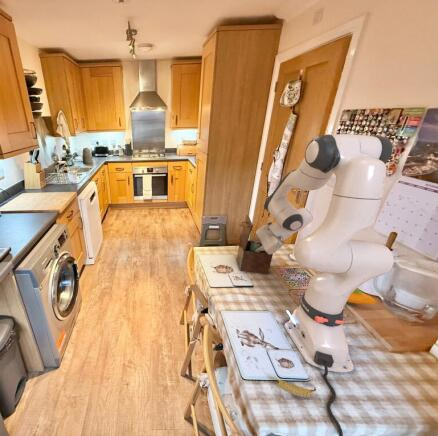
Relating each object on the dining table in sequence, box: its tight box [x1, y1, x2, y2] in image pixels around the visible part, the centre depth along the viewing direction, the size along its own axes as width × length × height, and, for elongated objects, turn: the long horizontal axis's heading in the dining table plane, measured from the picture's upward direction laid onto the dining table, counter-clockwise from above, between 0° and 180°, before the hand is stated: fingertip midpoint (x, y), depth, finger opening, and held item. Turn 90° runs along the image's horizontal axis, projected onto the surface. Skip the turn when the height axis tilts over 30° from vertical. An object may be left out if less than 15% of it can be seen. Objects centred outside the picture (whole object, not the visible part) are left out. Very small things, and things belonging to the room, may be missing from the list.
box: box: [236, 239, 274, 275], centre depth 123 cm, size 14×13×12 cm
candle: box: [289, 222, 312, 262], centre depth 125 cm, size 7×7×25 cm
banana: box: [276, 379, 317, 398], centre depth 67 cm, size 10×2×4 cm, turn 77°
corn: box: [345, 288, 378, 306], centre depth 99 cm, size 7×8×20 cm
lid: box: [238, 214, 254, 251], centre depth 119 cm, size 14×13×5 cm
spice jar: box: [249, 237, 261, 252], centre depth 121 cm, size 5×5×10 cm
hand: (253, 247), depth 121 cm, fingers closed on spice jar, 5 cm apart
